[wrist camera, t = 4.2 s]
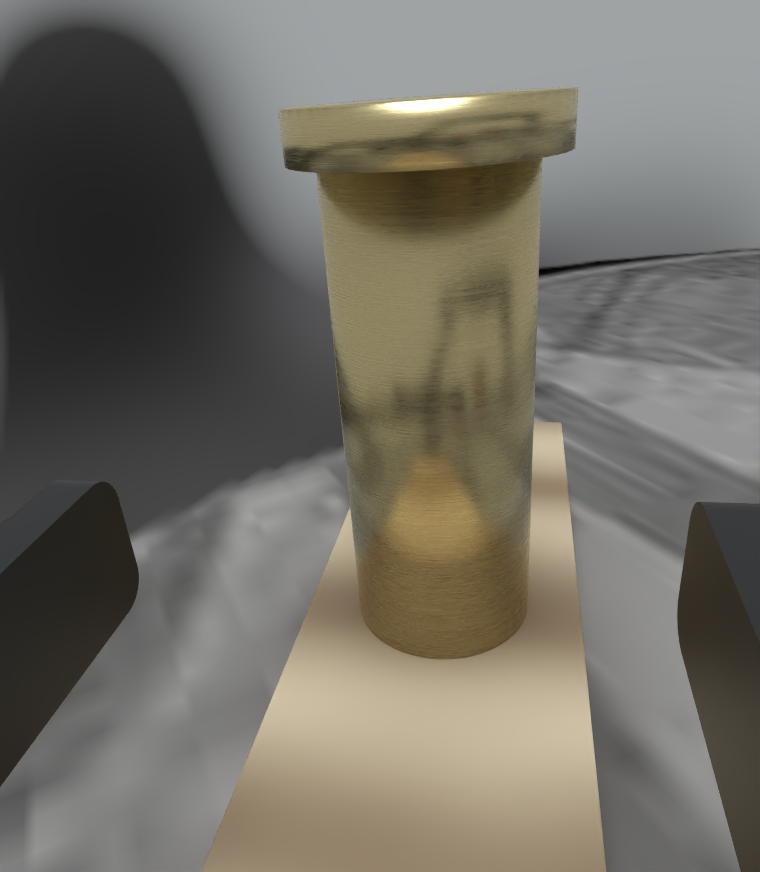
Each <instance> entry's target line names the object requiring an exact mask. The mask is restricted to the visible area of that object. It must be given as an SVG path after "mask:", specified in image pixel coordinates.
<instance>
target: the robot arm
mask: <svg viewBox="0 0 760 872" xmlns="http://www.w3.org/2000/svg"><path fill="white" fill-rule="evenodd" d="M138 583H139V574H138V567H137V563H136V559H135V556H134V552H133V549H132V545H131V541H130V538H129V534H128V531H127V527H126V523H125V520H124V517H123V513H122V509H121V506H120V502H119V498H118V496H117V493H116V491H115V490H114V488H113V487H112V486H111V485H110V484H108V483H106V482H95V481H94V482H93V481H63V480H58V481H54V482H51V483H50V484H49V485H47V486H46V487H45V488H44V489H43V490H41V491H40V492H39V493H38V494H37V495H36V496H34V497H33V498H32V499H31V500H30V501H29V502H27V503H26V504H25V505H24V506H23V507H22V508H21V509H20V510H19V511H17V512H16V513H15V514H14V515H12V516H11V517H10V518H8V519H6V520H4V521H3V522H1V523H0V786H1V785H2V784H3V782H4V781H5V780H6V778H7V777H8V776H9V774H10V773H11V771H12V770H13V769H14V767H15V766H16V765H17V763H18V762H19V761H20V759H21V758H22V756H23V755H24V754H25V752H26V751H27V750H28V748H29V747H30V746H31V744H32V743H33V742H34V740H35V739H36V737H37V736H38V735H39V733H40V732H41V731H42V729H43V728H44V727H45V725H46V724H47V722H48V721H49V720H50V718H51V717H52V716H53V714H54V713H55V712H56V710H57V709H58V708H59V706H60V705H61V703H62V702H63V701H64V699H65V698H66V697H67V695H68V694H69V693H70V691H71V690H72V688H73V687H74V686H75V684H76V683H77V682H78V680H79V679H80V678H81V676H82V675H83V674H84V672H85V671H86V669H87V668H88V667H89V665H90V664H91V663H92V661H93V660H94V659H95V657H96V656H97V654H98V653H99V652H100V650H101V649H102V648H103V646H104V645H105V644H106V642H107V641H108V639H109V638H110V637H111V635H112V634H113V633H114V631H115V630H116V629H117V627H118V626H119V625H120V623H121V622H122V620H123V619H124V618H125V616H126V615H127V614H128V612H129V611H130V609H131V608H132V605H133V603H134V601H135V598H136V595H137V590H138ZM677 618H678V635H679V643H680V648H681V652H682V656H683V660H684V664H685V667H686V671H687V675H688V678H689V682H690V686H691V689H692V693H693V697H694V700H695V704H696V708H697V711H698V715H699V719H700V723H701V726H702V730H703V734H704V737H705V741H706V745H707V748H708V752H709V756H710V759H711V763H712V767H713V770H714V774H715V778H716V782H717V785H718V789H719V793H720V796H721V800H722V804H723V807H724V811H725V815H726V818H727V822H728V826H729V829H730V833H731V837H732V841H733V844H734V848H735V852H736V855H737V859H738V863H739V866H740V870H741V872H760V504H747V503H715V502H697V503H695V505H694V507H693V509H692V512H691V517H690V523H689V530H688V536H687V543H686V550H685V557H684V564H683V571H682V578H681V584H680V591H679V598H678V614H677Z"/></svg>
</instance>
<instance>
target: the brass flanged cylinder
mask: <svg viewBox="0 0 760 872" xmlns="http://www.w3.org/2000/svg"><path fill="white" fill-rule="evenodd" d="M577 102H578V87H558V88H537V89H519V90H503V91H487V92H473V93H458V94H444V95H431V96H418V97H404V98H390V99H378V100H366V101H354V102H342V103H330V104H320V105H309V106H299V107H290V108H282V109H278V115H279V124H280V131H281V141H282V148H283V157H284V165H285V168H287V169H289V170H294V171H302V172H315V173H316V174H317V183H318V194H319V204H320V213H321V224H322V233H323V243H324V252H325V263H326V271H327V272H326V273H327V283H328V293H329V303H330V312H331V322H332V332H333V340H334V341H333V342H334V351H335V362H336V371H337V381H338V391H339V401H340V411H341V421H342V430H343V441H344V451H345V460H346V470H347V480H348V490H349V500H350V510H351V520H352V530H353V539H354V549H355V559H356V569H357V579H358V589H359V599H360V608H361V613H362V617H363V619H364V622H365V623H366V625H367V627H368V628H369V630H370V631H371V632H372V633H373V634H374V635H375V636H376V637H377V638H378V639H380V640H381V641H382V642H384V643H385V644H387V645H388V646H390V647H392V648H394V649H396V650H398V651H401V652H404V653H407V654H410V655H413V656H418V657H422V658H430V659H459V658H465V657H471V656H475V655H478V654H482V653H484V652H487V651H490V650H492V649H494V648H496V647H498V646H500V645H501V644H503V643H504V642H506V641H507V640H508V639H510V638H511V637H512V636H513V635H514V634H515V633H516V632H517V631H518V629H519V628H520V627H521V625H522V623H523V622H524V620H525V617H526V614H527V608H528V583H529V552H530V521H531V490H532V459H533V428H534V397H535V366H536V335H537V304H538V273H539V241H540V211H541V209H540V208H541V178H542V158H543V157H549V156H553V155H558V154H561V153H566V152H568V151H571V150H573V149H574V148H575V141H576V120H577Z"/></svg>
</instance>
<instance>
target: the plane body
mask: <svg viewBox="0 0 760 872" xmlns="http://www.w3.org/2000/svg"><path fill="white" fill-rule="evenodd" d="M201 872H606V864H605V854H604V844H603V834H602V824H601V814H600V804H599V794H598V784H597V774H596V764H595V754H594V744H593V735H592V725H591V715H590V705H589V695H588V685H587V675H586V665H585V655H584V645H583V635H582V625H581V615H580V605H579V595H578V585H577V575H576V565H575V555H574V545H573V535H572V525H571V515H570V505H569V495H568V485H567V475H566V465H565V455H564V445H563V435H562V425H561V423H554V422H534V428H533V459H532V490H531V521H530V552H529V583H528V608H527V614H526V617H525V620H524V622H523V623H522V625H521V627H520V628H519V629H518V631H517V632H516V633H515V634H514V635H513V636H512V637H511V638H510V639H508V640H507V641H506V642H504V643H503V644H501V645H500V646H498V647H496V648H494V649H492V650H490V651H487V652H484V653H482V654H478V655H475V656H471V657H465V658H459V659H430V658H422V657H418V656H413V655H410V654H407V653H404V652H401V651H398V650H396V649H394V648H392V647H390V646H388V645H387V644H385V643H384V642H382V641H381V640H380V639H378V638H377V637H376V636H375V635H374V634H373V633H372V632H371V631H370V630H369V628H368V627H367V625H366V623H365V622H364V619H363V617H362V613H361V608H360V599H359V589H358V579H357V569H356V559H355V549H354V539H353V530H352V520H351V510H350V509H349V511H348V514H347V516H346V519H345V521H344V524H343V526H342V528H341V531H340V533H339V536H338V538H337V541H336V543H335V546H334V548H333V550H332V553H331V555H330V558H329V560H328V563H327V565H326V568H325V570H324V572H323V575H322V577H321V580H320V582H319V585H318V587H317V590H316V592H315V594H314V597H313V599H312V602H311V604H310V607H309V609H308V612H307V614H306V616H305V619H304V621H303V624H302V626H301V629H300V631H299V633H298V636H297V638H296V641H295V643H294V646H293V648H292V651H291V653H290V655H289V658H288V660H287V663H286V665H285V668H284V670H283V673H282V675H281V677H280V680H279V682H278V685H277V687H276V690H275V692H274V695H273V697H272V699H271V702H270V704H269V707H268V709H267V712H266V714H265V717H264V719H263V721H262V724H261V726H260V729H259V731H258V734H257V736H256V739H255V741H254V743H253V746H252V748H251V751H250V753H249V756H248V758H247V761H246V763H245V765H244V768H243V770H242V773H241V775H240V778H239V780H238V782H237V785H236V787H235V790H234V792H233V795H232V797H231V800H230V802H229V804H228V807H227V809H226V812H225V814H224V817H223V819H222V822H221V824H220V826H219V829H218V831H217V834H216V836H215V839H214V841H213V844H212V846H211V848H210V851H209V853H208V856H207V858H206V861H205V863H204V866H203V868H202V870H201Z"/></svg>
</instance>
